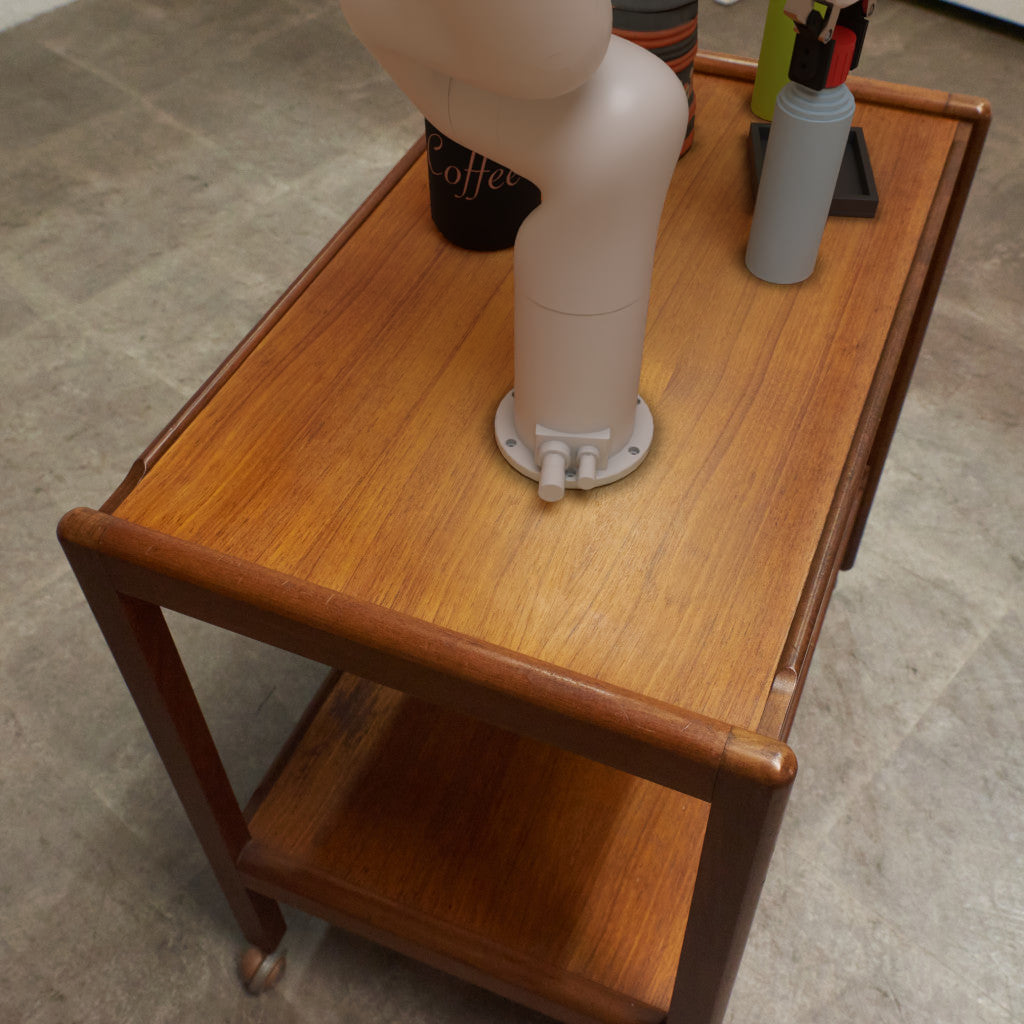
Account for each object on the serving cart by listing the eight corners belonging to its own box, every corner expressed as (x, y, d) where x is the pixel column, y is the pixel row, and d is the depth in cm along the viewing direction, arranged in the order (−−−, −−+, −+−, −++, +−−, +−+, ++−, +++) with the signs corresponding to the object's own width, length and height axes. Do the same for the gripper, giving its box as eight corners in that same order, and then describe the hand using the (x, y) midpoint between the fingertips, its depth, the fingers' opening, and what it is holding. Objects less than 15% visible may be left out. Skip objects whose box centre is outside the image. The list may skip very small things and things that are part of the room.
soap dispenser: (812, 97, 119) (855, -96, 104) (796, 127, 115) (838, -70, 100) (761, 87, 121) (796, -105, 106) (744, 115, 117) (777, -80, 102)
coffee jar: (412, 239, 102) (396, 56, 88) (462, 182, 108) (454, 3, 95) (512, 267, 99) (512, 82, 86) (558, 208, 105) (564, 27, 92)
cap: (856, 75, 86) (866, 34, 83) (828, 93, 84) (838, 51, 81) (815, 59, 87) (824, 18, 85) (787, 75, 86) (795, 35, 83)
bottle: (817, 286, 97) (876, 63, 81) (746, 282, 98) (791, 59, 82) (810, 244, 101) (865, 24, 85) (743, 241, 102) (785, 21, 86)
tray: (874, 218, 104) (879, 200, 103) (754, 212, 105) (758, 194, 103) (857, 144, 113) (862, 127, 112) (747, 139, 114) (750, 122, 112)
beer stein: (498, 148, 113) (495, -50, 98) (546, 84, 122) (551, -107, 106) (671, 185, 108) (696, -18, 93) (708, 115, 117) (737, -80, 102)
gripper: (862, -142, 66) (802, 130, 80) (993, -204, 74) (917, 54, 88) (762, -171, 70) (721, 95, 83) (898, -227, 77) (839, 25, 91)
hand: (822, 72), depth 85 cm, fingers closed on cap, 3 cm apart
